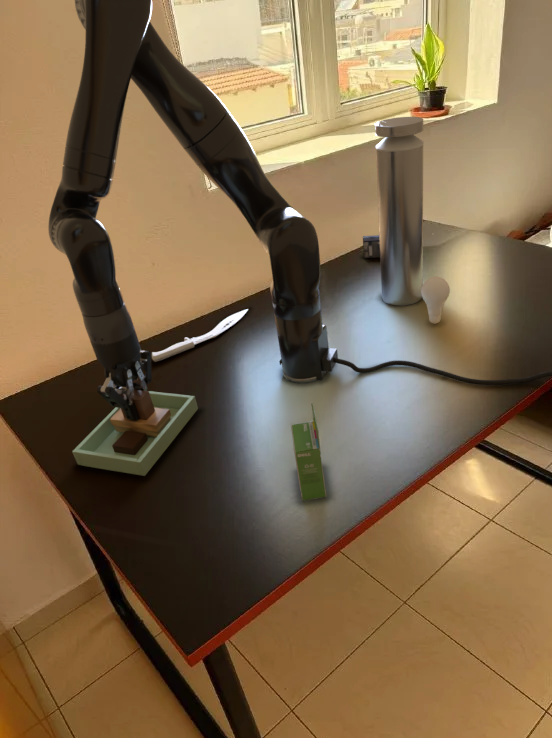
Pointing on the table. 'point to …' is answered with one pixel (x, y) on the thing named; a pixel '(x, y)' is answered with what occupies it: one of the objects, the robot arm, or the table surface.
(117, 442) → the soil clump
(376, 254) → the mini dv tape
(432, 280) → the lightbulb
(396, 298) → the silver metal canister
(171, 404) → the tray
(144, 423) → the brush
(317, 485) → the ink box
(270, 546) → the table surface
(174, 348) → the knife
